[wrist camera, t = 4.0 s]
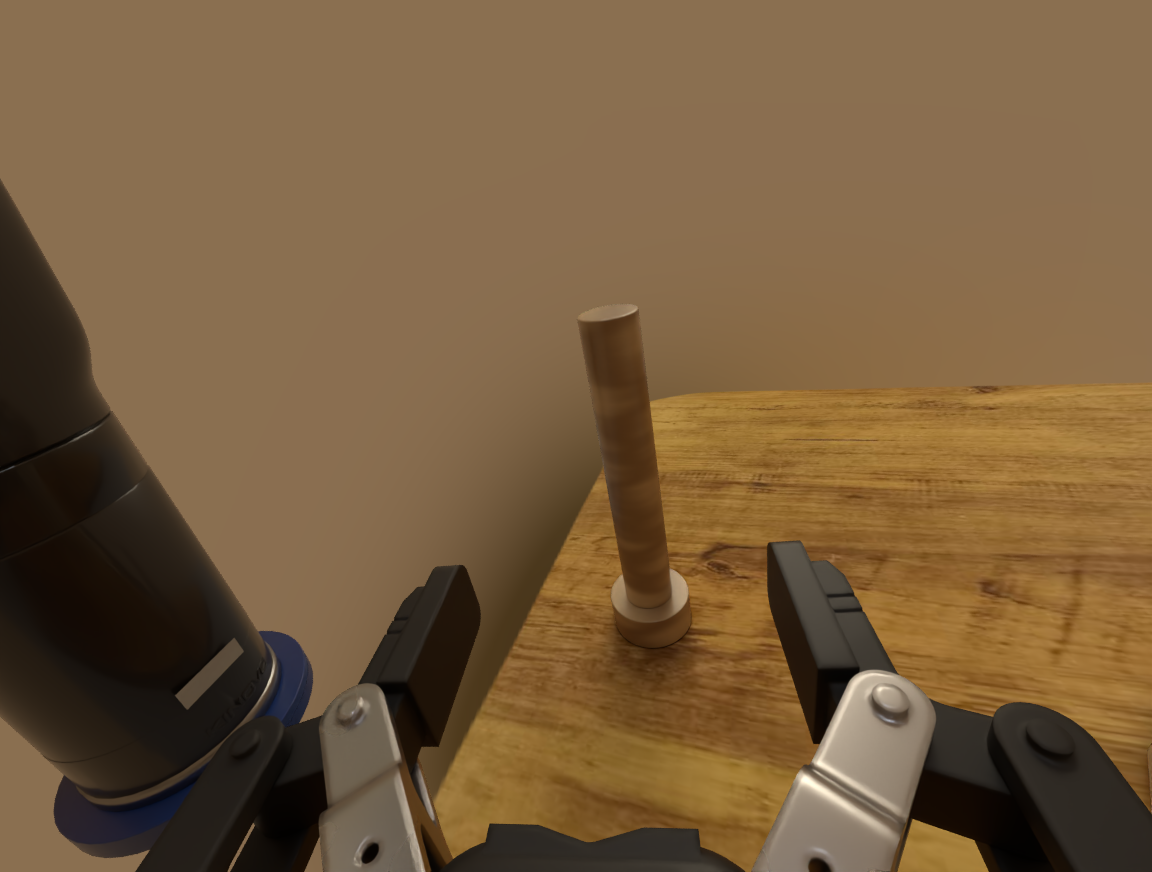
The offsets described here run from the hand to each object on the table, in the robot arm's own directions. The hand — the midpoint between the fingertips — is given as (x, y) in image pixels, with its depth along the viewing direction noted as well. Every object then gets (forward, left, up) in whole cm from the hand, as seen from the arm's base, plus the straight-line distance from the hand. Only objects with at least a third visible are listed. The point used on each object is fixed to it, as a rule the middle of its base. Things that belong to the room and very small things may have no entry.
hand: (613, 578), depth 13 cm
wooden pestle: (0, +11, -14) cm, 17 cm away
